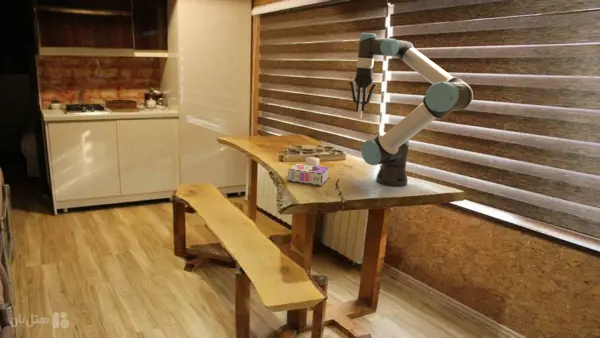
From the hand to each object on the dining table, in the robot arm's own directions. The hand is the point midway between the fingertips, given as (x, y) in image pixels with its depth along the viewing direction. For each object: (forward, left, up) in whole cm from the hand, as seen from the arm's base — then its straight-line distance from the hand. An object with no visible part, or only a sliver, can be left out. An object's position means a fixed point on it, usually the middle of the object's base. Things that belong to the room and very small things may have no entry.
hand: (359, 117), depth 222 cm
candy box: (+9, +17, -27) cm, 33 cm away
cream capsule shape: (+22, 0, -30) cm, 38 cm away
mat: (+16, +16, -30) cm, 38 cm away
